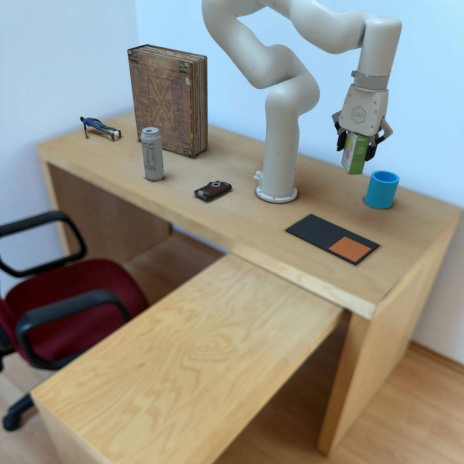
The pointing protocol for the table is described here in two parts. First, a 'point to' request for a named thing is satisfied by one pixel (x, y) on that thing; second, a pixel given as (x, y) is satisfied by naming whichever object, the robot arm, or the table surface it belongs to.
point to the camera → (213, 190)
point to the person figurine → (99, 126)
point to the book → (171, 96)
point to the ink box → (355, 152)
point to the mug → (381, 189)
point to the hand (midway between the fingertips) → (354, 154)
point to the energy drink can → (152, 153)
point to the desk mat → (333, 238)
